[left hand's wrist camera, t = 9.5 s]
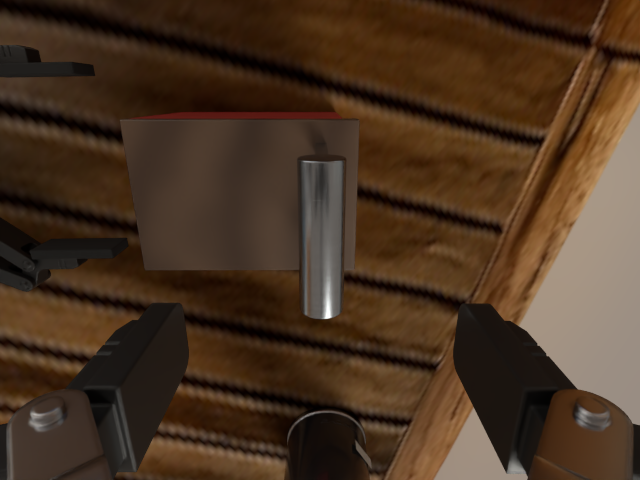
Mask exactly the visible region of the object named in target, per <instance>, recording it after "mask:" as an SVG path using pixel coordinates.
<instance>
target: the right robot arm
mask: <svg viewBox="0 0 640 480" xmlns="http://www.w3.org/2000/svg"><path fill="white" fill-rule="evenodd" d="M60 76H95V73H94V68H93V65H90V64H83V63H75V62H41V59H40V55H39V51H38V50H36V49H33V48H31V47H25V46H19V45H0V77H60ZM127 247H128V241H127V238H87V239H50V240H49V241H47V242H45V243H43V244H41V243H39V242H38V241H36V240H35V239H33V238H32V237H30V236H28V235H27V234H25V233H24V232H22V231H21V230H19V229H17V228H16V227H14V226H13V225H11V224H10V223H8V222H7V221H5V220H3V219H2V218H0V282H1V283H4V284H6V285H9V286H12V287H14V288H17V289H19V290H22V291H26V292H27V291H30V290H32V289H33V288H35V287H36V286H38V285H39V284H41V283H42V282H44V281H45V280H47V279H48V278H50V276H51V272H50V270H49V269H73V268H76V267H78V266H80V265H81V264H82V263H84V262H85V261H87V260H88V258H114V257H115V256H116V255H118V254H119V253H120V252H121V251H123V250H124V249H125V248H127Z"/></svg>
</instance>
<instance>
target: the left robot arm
mask: <svg viewBox="0 0 640 480" xmlns="http://www.w3.org/2000/svg"><path fill="white" fill-rule="evenodd" d="M188 358H189V349H188V341H187V334H186V326H185V319H184V312H183V307H182V305H181V304H180V303H152V304H151V305H150V306H149V307H148V309H147V310H146V311H145V312H144V313H143V315H142V316H141V317H140V318H139V320H132V321H130V322H129V323H127V324H126V325H124V326H122V327H121V328H119V329H118V330H116V331H115V332H114V333H113V334H112V336H111V337H110V338H109V339H108V340H107V341H106V343H105V345H103V346H102V347H101V348H100V349H99V351H98V352H97V355H94V356H93V357H92V359H91V360H90V361H89V362H88V363H87V364H86V366H85V367H84V368H83V369H82V370H81V371H80V372H79V374H78V375H77V376H76V377H75V378H74V379H73V380H72V382H71V383H70V384H69V385H68V386H67V387H66V389H63V390H57V391H53V392H50V393H47V394H44V395H42V396H39V397H37V398H35V399H33V400H31V401H30V402H28V403H27V404H25V405H24V406H22V407H21V408H20V409H19V410H18V411H16V413H15V414H14V415H13V416H12V417H11V419H10V420H9V422H8V423H6V424H2V425H0V480H113V479H114V477H115V475H116V473H117V472H137V470H138V468H139V466H140V464H141V461H142V459H143V457H144V455H145V453H146V451H147V449H148V447H149V445H150V443H151V441H152V439H153V437H154V435H155V433H156V431H157V429H158V427H159V425H160V423H161V421H162V418H163V416H164V414H165V412H166V410H167V408H168V406H169V404H170V402H171V400H172V398H173V396H174V394H175V392H176V390H177V388H178V386H179V384H180V382H181V380H182V378H183V375H184V373H185V371H186V368H187V365H188ZM453 359H454V365H455V369H456V372H457V374H458V376H459V378H460V380H461V382H462V384H463V386H464V388H465V390H466V392H467V394H468V396H469V398H470V400H471V402H472V404H473V406H474V409H475V410H476V412H477V415H478V417H479V419H480V421H481V423H482V425H483V427H484V429H485V431H486V433H487V435H488V437H489V439H490V441H491V443H492V445H493V447H494V449H495V451H496V453H497V455H498V457H499V459H500V461H501V463H502V465H503V467H504V469H505V471H506V473H507V474H527V476H528V479H527V480H640V425H636V424H632V422H631V420H630V419H629V417H628V416H627V415H626V414H625V413H624V411H622V410H621V409H620V408H619V407H618V406H616V405H615V404H613V403H612V402H610V401H609V400H607V399H605V398H603V397H601V396H598V395H596V394H593V393H590V392H587V391H583V390H578V389H577V388H576V387H575V386H574V385H573V384H572V382H571V381H570V380H569V379H568V378H567V377H566V376H565V375H564V373H563V372H562V371H561V370H560V369H559V368H558V367H557V365H556V364H555V363H554V362H553V361H552V360H551V359H550V357H549V356H546V353H545V352H544V351H543V349H542V348H541V347H540V346H537V343H536V342H535V340H534V339H533V338H532V337H531V336H530V335H529V334H528V332H527V331H525V330H524V329H522V328H520V327H519V326H517V325H516V324H514V323H513V322H511V321H504V320H503V319H502V317H501V316H500V315H499V314H498V312H497V311H496V310H495V309H494V308H493V306H492V305H491V304H462V305H461V306H460V308H459V313H458V320H457V327H456V335H455V342H454V349H453ZM365 444H366V439H365V432H364V429H363V427H362V425H361V423H360V422H359V421H358V420H357V419H356V418H355V417H354V416H353V415H351V414H350V413H348V412H345V411H343V410H340V409H336V408H318V409H313V410H310V411H308V412H305V413H304V414H302V415H300V416H299V417H298V418H297V419H296V420H295V421H294V422H293V423H292V425H291V426H290V428H289V431H288V437H287V446H288V447H287V457H286V467H285V477H284V480H370V477H369V470H368V465H369V466H370V467H371V460H370V458H369V457H368V456H367V453H366V446H365ZM371 468H372V467H371Z"/></svg>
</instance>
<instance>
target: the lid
mask: <svg viewBox="0 0 640 480" xmlns="http://www.w3.org/2000/svg"><path fill="white" fill-rule="evenodd" d="M120 125H121V131H122V137H123V143H124V149H125V155H126V161H127V167H128V173H129V179H130V185H131V191H132V196H133V202H134V208H135V214H136V220H137V226H138V232H139V238H140V244H141V250H142V256H143V262H144V268H145V270H299V287H300V310H301V312H302V313H303V314H304V315H306V316H308V317H310V318H314V319H329V318H333V317H336V316H337V315H339V314H340V313H341V312H342V310H343V291H344V270H354V269H355V240H356V210H357V180H358V150H359V120H358V119H121V120H120Z"/></svg>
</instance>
